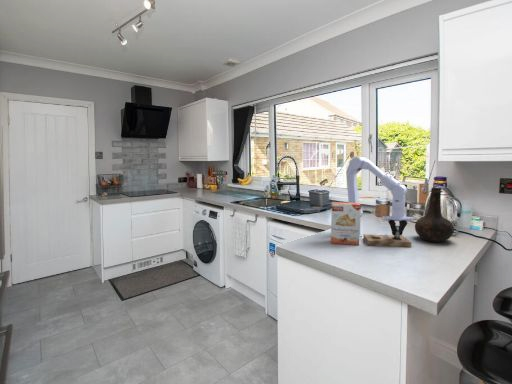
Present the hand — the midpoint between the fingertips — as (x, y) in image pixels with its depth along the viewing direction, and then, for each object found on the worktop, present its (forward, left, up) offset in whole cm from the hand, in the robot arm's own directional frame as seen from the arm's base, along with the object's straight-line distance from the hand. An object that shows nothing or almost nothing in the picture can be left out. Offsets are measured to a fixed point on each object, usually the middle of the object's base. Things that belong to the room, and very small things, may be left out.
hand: (396, 234), depth 148 cm
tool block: (-5, 0, -4) cm, 7 cm away
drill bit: (0, 0, -3) cm, 3 cm away
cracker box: (-26, -3, -5) cm, 27 cm away
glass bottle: (+21, +9, -5) cm, 23 cm away
